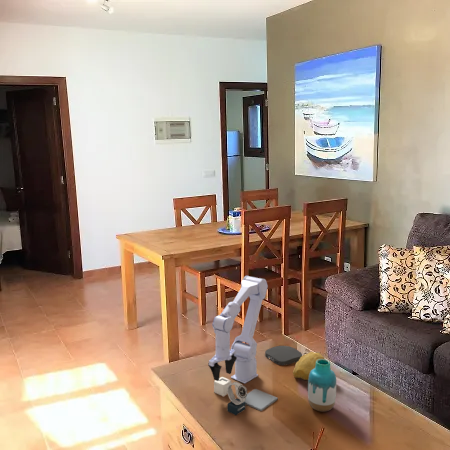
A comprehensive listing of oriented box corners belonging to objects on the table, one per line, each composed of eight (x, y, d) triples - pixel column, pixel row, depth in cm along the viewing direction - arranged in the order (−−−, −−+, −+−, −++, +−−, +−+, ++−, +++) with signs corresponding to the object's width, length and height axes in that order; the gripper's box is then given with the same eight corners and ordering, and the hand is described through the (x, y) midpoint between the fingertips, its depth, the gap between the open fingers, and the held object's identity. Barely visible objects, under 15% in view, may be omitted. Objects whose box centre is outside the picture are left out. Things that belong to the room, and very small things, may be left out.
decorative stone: (301, 387, 202) (325, 358, 203) (282, 367, 215) (304, 340, 215) (319, 399, 208) (341, 372, 209) (299, 379, 221) (320, 353, 222)
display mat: (255, 390, 204) (255, 388, 203) (277, 399, 197) (277, 397, 196) (238, 401, 195) (238, 399, 195) (261, 411, 188) (261, 409, 188)
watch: (239, 417, 184) (240, 390, 182) (223, 409, 190) (223, 382, 188) (249, 411, 188) (249, 384, 186) (233, 403, 194) (233, 377, 192)
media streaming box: (305, 359, 232) (305, 353, 231) (280, 367, 224) (281, 361, 224) (285, 348, 244) (285, 343, 244) (261, 355, 236) (261, 349, 236)
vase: (337, 403, 193) (338, 358, 190) (333, 418, 184) (335, 370, 180) (309, 399, 197) (311, 354, 193) (305, 413, 187) (306, 365, 184)
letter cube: (222, 387, 206) (222, 376, 205) (231, 391, 203) (231, 380, 202) (214, 392, 202) (214, 380, 201) (223, 396, 199) (223, 384, 198)
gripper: (218, 353, 191) (218, 386, 193) (241, 342, 202) (241, 373, 204) (204, 348, 195) (204, 380, 198) (228, 337, 206) (228, 368, 209)
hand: (222, 376), depth 201 cm, fingers open, 7 cm apart
